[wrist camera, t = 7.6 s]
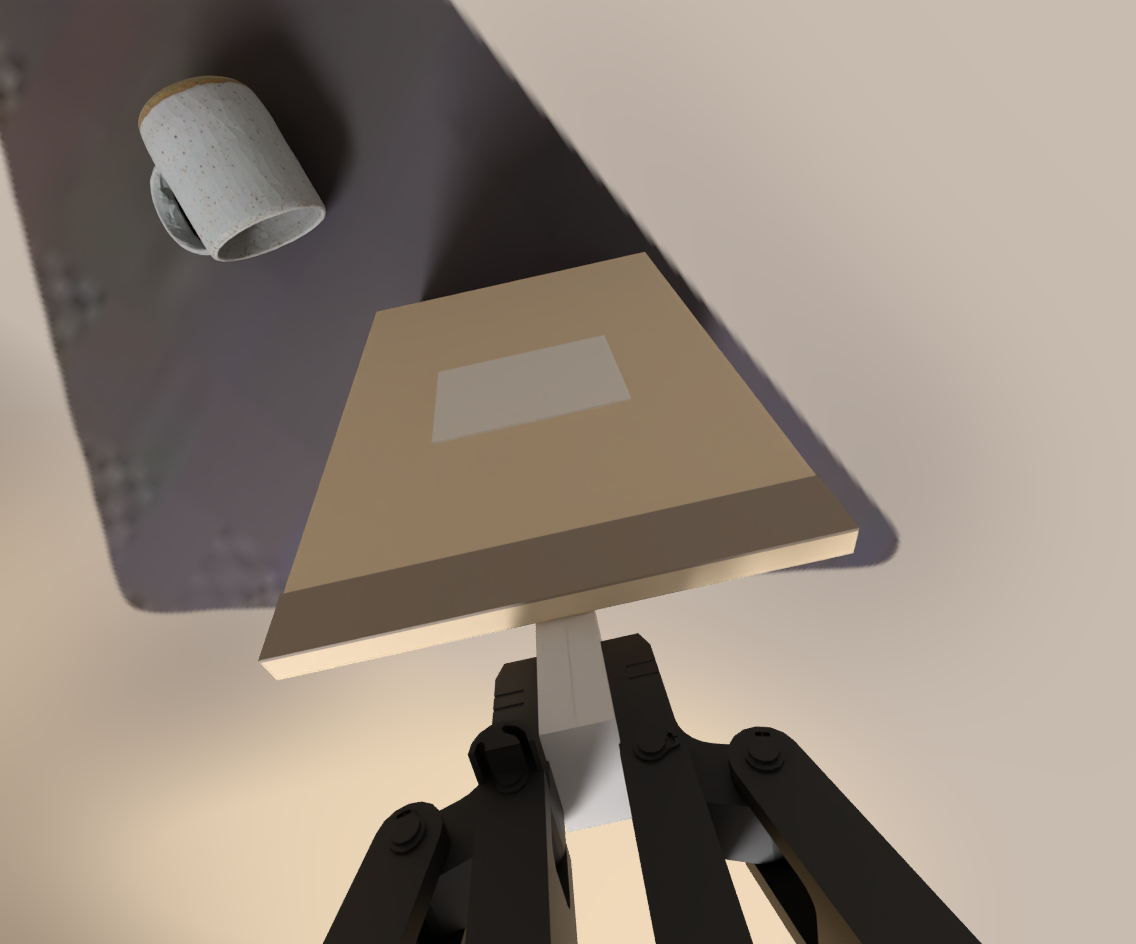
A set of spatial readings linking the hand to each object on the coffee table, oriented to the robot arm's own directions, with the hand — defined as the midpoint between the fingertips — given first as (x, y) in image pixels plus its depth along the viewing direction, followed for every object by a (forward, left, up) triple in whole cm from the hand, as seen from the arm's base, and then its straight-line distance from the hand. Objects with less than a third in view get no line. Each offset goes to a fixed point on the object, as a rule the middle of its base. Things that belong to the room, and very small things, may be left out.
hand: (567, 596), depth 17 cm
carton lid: (-5, 0, -7) cm, 8 cm away
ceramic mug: (-18, -17, -29) cm, 38 cm away
